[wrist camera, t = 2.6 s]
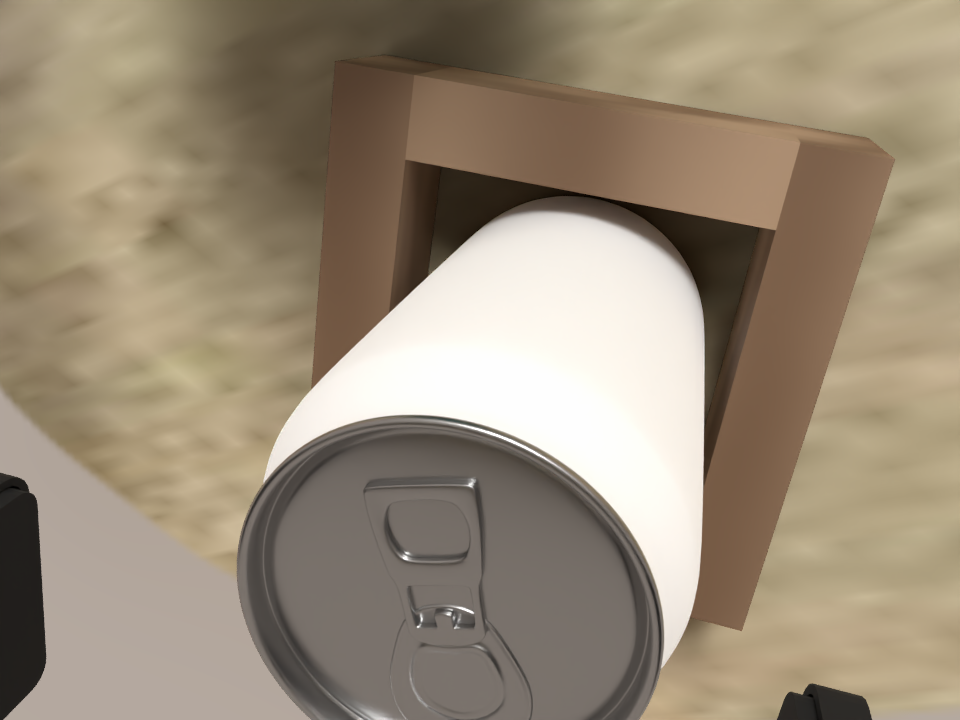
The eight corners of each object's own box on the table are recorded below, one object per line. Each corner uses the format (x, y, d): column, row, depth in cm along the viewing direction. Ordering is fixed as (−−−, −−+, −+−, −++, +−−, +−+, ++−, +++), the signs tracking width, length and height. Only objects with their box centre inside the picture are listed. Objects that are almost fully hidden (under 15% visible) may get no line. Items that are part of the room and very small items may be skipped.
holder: (868, 138, 19) (894, 159, 16) (737, 558, 23) (741, 630, 21) (384, 54, 21) (334, 61, 18) (346, 460, 25) (302, 514, 22)
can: (467, 442, 24) (268, 798, 13) (426, 206, 22) (148, 398, 11) (713, 433, 22) (718, 835, 11) (695, 175, 20) (678, 366, 9)
